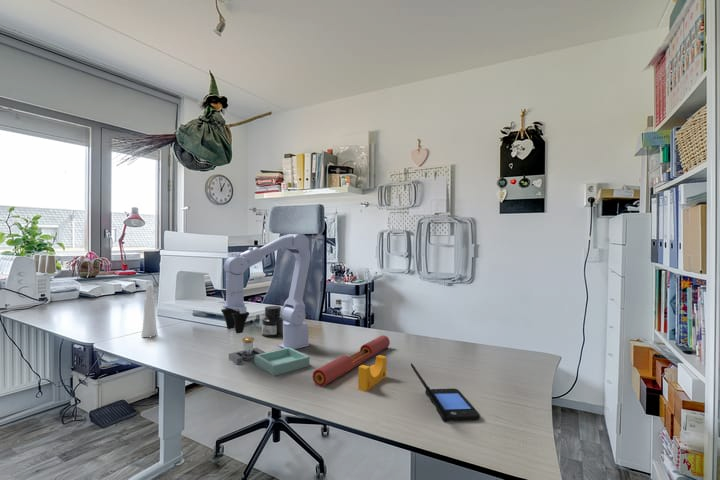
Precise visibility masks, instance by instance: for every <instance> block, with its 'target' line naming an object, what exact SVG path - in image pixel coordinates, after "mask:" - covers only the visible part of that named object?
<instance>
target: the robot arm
mask: <svg viewBox="0 0 720 480" xmlns="http://www.w3.org/2000/svg"><path fill="white" fill-rule="evenodd" d="M247 249H248V250H247ZM247 249H246V251H243V252H241V253H236V256H230V257H228V258H227V259H226V260H225V261H224V264H223V265H222V268H223V270H224V271H225V298H226V299H225V301H224V303H223V305H222V309H221V310H220V311H221V313H222V315H223V318H224V321H225V325H226V328H227V330H231V329H235V333H236V334H242V333H244V328H245V325H246V321H247V319H248V317H249V315H250V312H249V311H247V306H246V305H245V303H244V302H245V301H244V298H245V297H244V292H245V291H244V281H245V280H244V273H245V272H246V270H248V269H249V268H251V267H253V266H255V265H257V264H258V263H261V262H262V261H263V259H264V257H265V256H267V255H270V254H272V253H274V252H276V251H278V250H280V249H286V250H287V251H288V252H290V253H291V254H292V256H294V258H295V262H294V268H293V274H292V278H291V279H292V280H291V284H290V289H289V293H288V298H286V299H285V301H284V303H283V306H282V307H281V311H280V317H281V318H282V319H283V334H282V337H283V338H282V343H279V344H278V347H281V348H282V349H284V348H288V347H290V348H292V349H294V350H297V349H301V348H305V347H308V346H311V345H310V343H309V338H310V337H309V336H310V335H309V333H310V332H309V331H310V330H309V326H308V323H307V322H305V320H306V304H305V303H304V302H305V301H304V300H303V298H304V294H305V289H306V288H305V287H306V283H307V277H308V272H309V268H310V262H311V252H310V240H309V239H308V237H307V236H306V235H305V234H304V233H287V234H285V235H281V236H279V237H277V238H276V239H274V240H273V241H270V242H269V243H267V244H265V245H263V246H261V247H260V248H259V247H257V246H254V247H253V246H250V247H247Z"/></svg>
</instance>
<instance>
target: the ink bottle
mask: <svg viewBox="0 0 720 480" xmlns="http://www.w3.org/2000/svg"><path fill="white" fill-rule="evenodd" d="M281 309H282V307H281V306H278V305H269V306H265V307H264V316H265V317H264V318H263V319H262V321H261V335H262V336H263V337H267V338H275V337H280V336H283V319H282V318H281V316H280V311H281Z"/></svg>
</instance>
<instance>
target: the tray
mask: <svg viewBox="0 0 720 480" xmlns="http://www.w3.org/2000/svg"><path fill="white" fill-rule="evenodd" d="M265 352H266V351H265ZM310 359H311V357H310V356H309V355H307V354H305V353H303V352H301V351H298V350H297V349H292V348H290V347H288V348H280V349H276V350H272V351H268V352H266V353H262V354H258V355H255V359H254V365H256V366H257V367H258V368H259V369H261V370H263V371H265V372H266V373H268V374H269V375H271V376H272V377H273V376H274V377H275V376H279V375H282V374H285V373H289V372H291V371H296V370H300V369H302V368H303V369H304V368H307V367H310V366H311V364H310V363H311V361H310Z"/></svg>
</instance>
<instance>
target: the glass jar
mask: <svg viewBox="0 0 720 480" xmlns="http://www.w3.org/2000/svg"><path fill="white" fill-rule="evenodd" d="M254 341H255V338H254V337H253V336H245V337H243V338H242V343H243V346H242V347H243V349H242V351H243V354H242V355H241V357H242V358H243V362H249V361H250V362H251V361H254V360H255V354H254V353H253V348H254Z"/></svg>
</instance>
